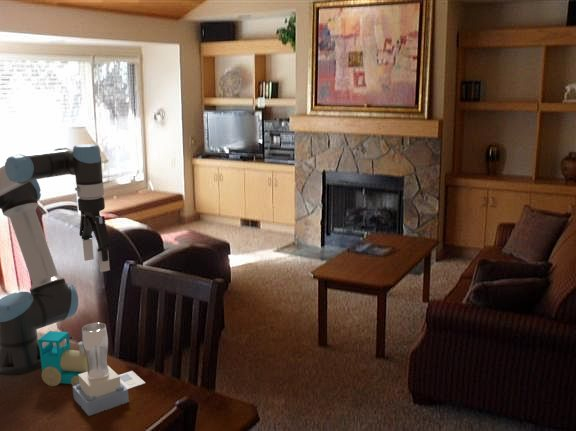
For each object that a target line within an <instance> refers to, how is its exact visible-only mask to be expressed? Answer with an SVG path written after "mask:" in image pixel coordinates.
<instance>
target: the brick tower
mask: <svg viewBox="0 0 576 431" xmlns="http://www.w3.org/2000/svg"><path fill="white" fill-rule="evenodd" d="M107 366H108V370H109V375H108V376H107V377H105V378H103V379H100V380H91V379H89V378H88V376H87V374H88V372H84V373H81V374H78V378H79V384H77V385H76V386H73V385H72V394H73V399H74V400H75V403H77V404H78V405H79V407H80V406H81V407H80V408H81V409H82V410H83V411H84V413H85V414H86V415H87V416H88V417H90V416H93V415H96V414H99V413H101V411H102V412H104V410H105V411H107V410H110V409H113V408H115V407H119V406H122V405H124V404H127V403H129V402H130V400H129V389H127V388H126V387H125V386H124V385H123V384H122V383H121V382H120V376H119V375H120V374H118V373H117V372H116V371H114V369H112V368H111V367H110V365H108V364H107ZM121 404H122V405H121Z"/></svg>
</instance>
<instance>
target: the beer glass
mask: <svg viewBox="0 0 576 431" xmlns="http://www.w3.org/2000/svg"><path fill="white" fill-rule="evenodd" d="M107 330H108V329H107V325H106V323H102V322H92V323H87V324H85V325H83V326H82V328H81V336H82V337H81V341H82V343H83V349H84V353H85V356H86V359H87V363H88V374H87V376H88V378H89V379H91V380H100V379H103V378H105V377H107V376H108V375H109V370H108V366H109V365H108V363H107V362H108V361H107V360H108V351H109V350H108V349H109V337H108V332H107ZM107 365H108V366H107Z"/></svg>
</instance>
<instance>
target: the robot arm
mask: <svg viewBox="0 0 576 431" xmlns="http://www.w3.org/2000/svg"><path fill="white" fill-rule="evenodd" d="M102 165H103V164H102V156H101V149H100V147H99V145H97V144H92V143H87V144H86V143H84V144H75V145H74V146H73V148H72V149H71V148H68V147H61V148H60V147H59V148H55V149H53V150H48V151H41V152H36V153H35V152H33V153H25V154H16V155H13V156H8V158H7V159H6V161H5V163H4V165H3V166H1V167H0V210H1V211H2V215H3V216H5V217H7V218H9V220H10V223H11V225H12V226H11V227H12V228H13V231H14V235H15V237H16V240H17V243H18V245H19V246H18V247H19V249H20V252H21V253H22V254H21V255H22V258H23V260H24V263H25V265H26V266H25V267H26V269H27V272H28V275H29V277H30V280H31V283H32V284H31V286H30V287H29V288H30V289H29V291H18V292H16V291H15V292H13V293H10V294H7V295H5V296H3V297H1V298H0V374H3V375H8V376H9V375H10V376H12V375H13V376H14V375H15V376H16V375H21V374H26V373H30V372H33V371H35V370H37V369H39V368H42V366H41V357H40V349H39V341H38V340H39V338H38V330H39V329H42V328H44V327H48V326H51V325H53V324H56V323H60V322H64V321H65V320H67V319H70V318H72V317H73V316H75V314H76V313H77V311H78V307H79V295H78V291H77V290H76V287H74V285H73V284H71V283H70V282H68V283H67V282H66V279H65V278H64V277H62V276H60V275H59V273H58V270H57V268H56V265H55V262H54V260H53V256H52V253H51V251H50V249H49V248H50V247H49V245H48V242H47V240H46V236H45V234H44V231H43V228H42V226H41V225H42V224H41V223H40V220H39V217H38V214H37V209H38V206H39V203H38V202H39V200H40V199H41V196H42V194H41V186H40V183H39V181H38V180H40V179H47V178H54V177H59V176H61V177H62V176H65V175H70V176H74V177H75V183H76V185H75V186H76V187H75V189H74V190H75V191H76V195H77V197H78V199H77V206H78V207H77V208H78V211H80V224H79V236H80V237H81V239H82V248H83V258H84V261H85V262H86V261H91V260H95V259H94V258H95V257H94V247H93V237H95V240H96V244H97V245H98V249H97V252H98V263H99V271H100V273H103V272H108V271H111V268H110V257H109V256H110V254H109V250H111V249H112V245H111V242H110V237H109V233H108V229H107V225H106V218H105V216H104V215H102V216H101V213H100V212H101V211H103V210H105V207H106V206H105V197H104V194H105V189H104V181H103V169H102V168H103V167H102ZM92 233H94V234H93V235H94V236H93V235H92Z"/></svg>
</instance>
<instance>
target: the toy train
mask: <svg viewBox="0 0 576 431" xmlns="http://www.w3.org/2000/svg"><path fill="white" fill-rule="evenodd" d="M64 340H66V343H65V344H64V345H63V346H60V344H61V343H62V342H63V341H64ZM38 341H39V349H40V357H41V379H42V381H43V382H44V383H45V384H46V385H48V386H51V387H56V386H58V385H59V384H66V385H67V384H68V385H72V387H73V386H76V385H77V384H79V378H78V374H81V373H84V372H88V363H87V359H86V356H85V353H84V349H83V343H82V340H81V341H79V342H77V345H78V350H75V349H71V343H70V341H71V340H70V334H69V331H58V330H57V331H56V330H55V331H54V330H53V331H52V330H49V331H47V332H46V333H45V334H44V335H42V336H41V337H39V338H38ZM43 343H47V344H46V345H44V346H43ZM54 344H55V345H54Z"/></svg>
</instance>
